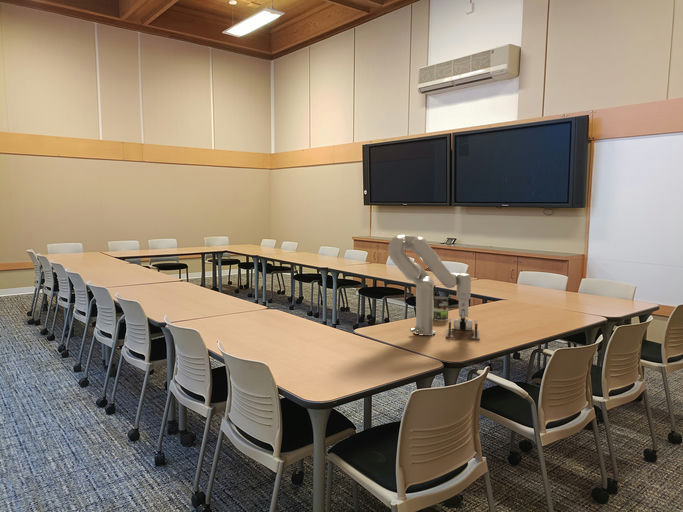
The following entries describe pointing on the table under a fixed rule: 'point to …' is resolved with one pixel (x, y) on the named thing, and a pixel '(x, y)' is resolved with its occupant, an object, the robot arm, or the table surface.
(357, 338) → the table surface
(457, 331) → the roll holder
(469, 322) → the paper towel roll
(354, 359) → the table surface
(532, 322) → the table surface
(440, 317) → the coffee can
